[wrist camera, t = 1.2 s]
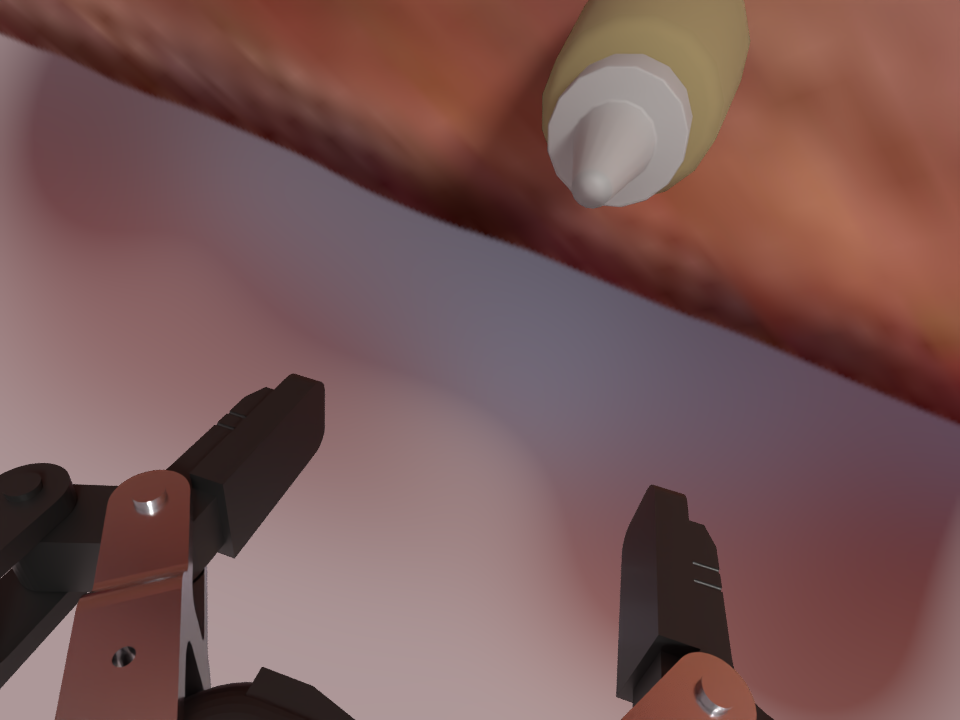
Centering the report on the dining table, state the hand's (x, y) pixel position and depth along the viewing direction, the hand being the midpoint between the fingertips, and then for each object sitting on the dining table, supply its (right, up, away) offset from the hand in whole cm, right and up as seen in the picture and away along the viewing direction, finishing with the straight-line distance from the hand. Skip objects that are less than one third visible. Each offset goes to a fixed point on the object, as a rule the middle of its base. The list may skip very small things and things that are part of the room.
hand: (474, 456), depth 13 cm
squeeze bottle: (+10, +19, +15) cm, 26 cm away
